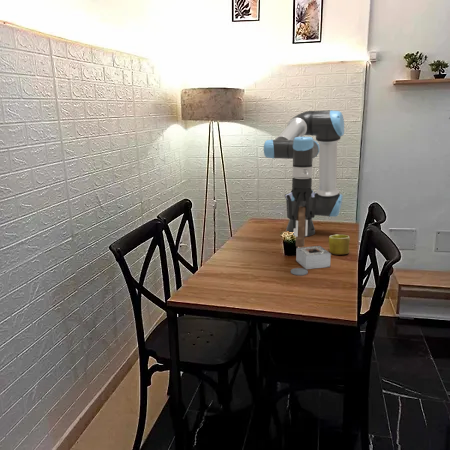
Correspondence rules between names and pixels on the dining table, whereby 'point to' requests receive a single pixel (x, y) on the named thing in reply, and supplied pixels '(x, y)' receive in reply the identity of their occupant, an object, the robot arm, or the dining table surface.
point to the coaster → (299, 271)
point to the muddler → (301, 226)
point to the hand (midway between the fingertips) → (300, 235)
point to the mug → (339, 244)
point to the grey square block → (313, 257)
